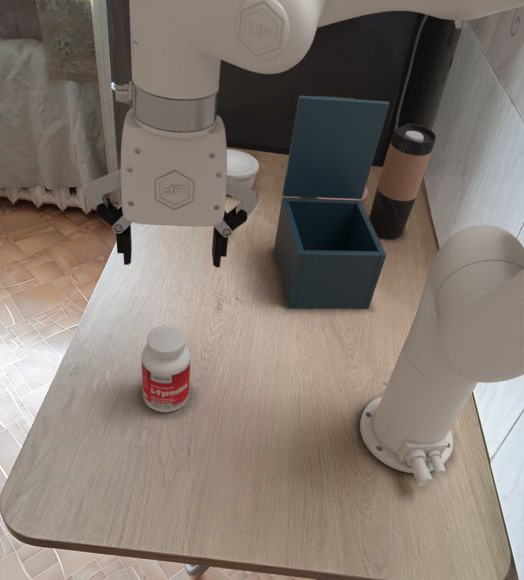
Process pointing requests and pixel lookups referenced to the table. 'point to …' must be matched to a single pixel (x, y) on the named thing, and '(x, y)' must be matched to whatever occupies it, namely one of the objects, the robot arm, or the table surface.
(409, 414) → the robot arm
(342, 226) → the chest
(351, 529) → the table surface
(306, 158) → the lid
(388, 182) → the travel mug
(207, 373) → the table surface
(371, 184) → the table surface
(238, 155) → the ramekin
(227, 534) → the table surface
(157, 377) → the pill bottle
